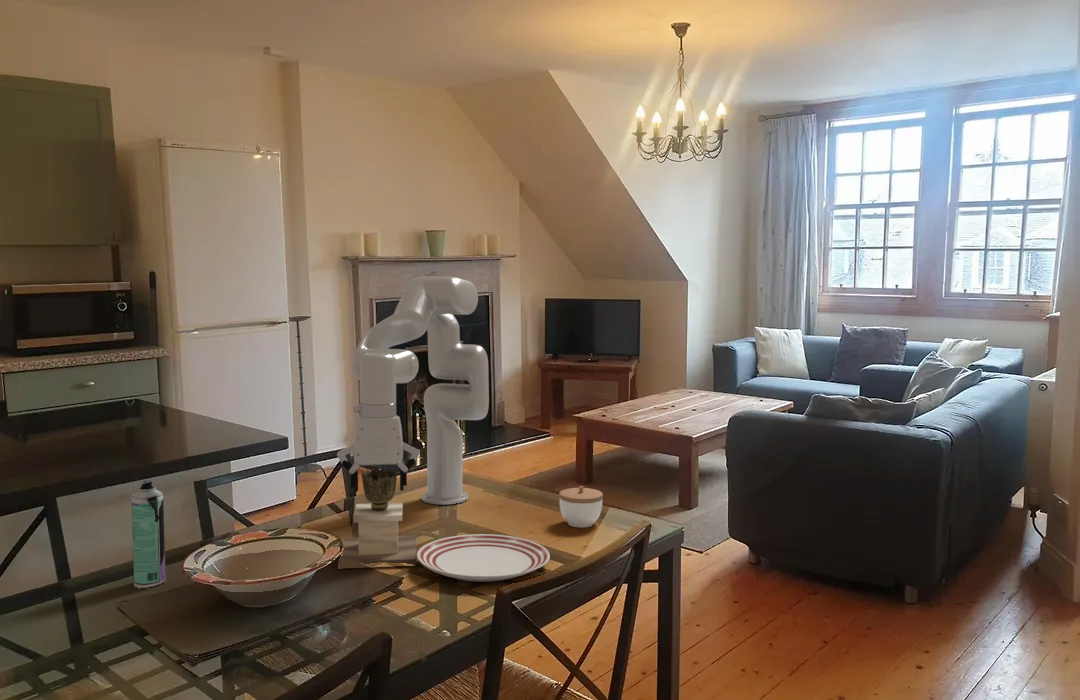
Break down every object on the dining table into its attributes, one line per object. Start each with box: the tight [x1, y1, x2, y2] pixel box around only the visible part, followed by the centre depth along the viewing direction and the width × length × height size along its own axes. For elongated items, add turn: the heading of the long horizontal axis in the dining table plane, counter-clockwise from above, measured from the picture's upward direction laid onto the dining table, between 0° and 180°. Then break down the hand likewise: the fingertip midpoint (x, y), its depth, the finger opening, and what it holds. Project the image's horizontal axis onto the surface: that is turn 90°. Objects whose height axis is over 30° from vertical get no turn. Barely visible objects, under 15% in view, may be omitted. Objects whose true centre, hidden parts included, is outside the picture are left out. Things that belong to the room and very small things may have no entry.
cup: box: [361, 468, 398, 511], centre depth 171 cm, size 8×7×8 cm
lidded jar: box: [558, 485, 604, 529], centre depth 196 cm, size 11×11×9 cm
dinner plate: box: [417, 533, 551, 583], centre depth 166 cm, size 27×27×3 cm
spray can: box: [131, 480, 166, 589], centre depth 154 cm, size 6×6×20 cm
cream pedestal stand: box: [342, 502, 418, 566], centre depth 172 cm, size 16×16×10 cm
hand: (379, 489), depth 171 cm, fingers open, 9 cm apart
